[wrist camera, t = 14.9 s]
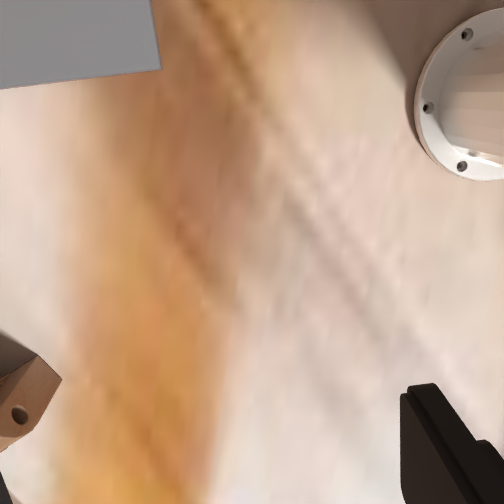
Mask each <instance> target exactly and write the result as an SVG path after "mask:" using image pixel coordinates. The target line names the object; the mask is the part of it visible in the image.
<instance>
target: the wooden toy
mask: <svg viewBox="0 0 504 504" xmlns="http://www.w3.org/2000/svg"><path fill="white" fill-rule="evenodd" d="M61 381H62V379H61V378H60V377H59V376H58V375H57V374H56V373H55V372H54V371H53V370H52V369H51V368H50V367H49V366H48V365H47V364H46V363H45V362H44V361H43V360H42V359H41V358H40V357H39V356H36V357H35V358H33V359H32V360H30V361H28V362H27V363H25V364H24V365H22V366H21V367H19V368H18V369H17V370H15V371H14V372H12V373H10V374H7V375H5V376H4V377H2V378H1V379H0V452H2V451H4V450H5V449H7V448H8V446H9V445H11V444H13V443H14V442H16V441H17V440H19V439H20V438H22V437H23V436H25V435H26V434H28V433H29V432H31V431H32V430H33V429H34V427H35V426H36V425H37V424H38V422H39V420H40V419H41V417H42V415H43V413H44V412H45V410H46V408H47V406H48V404H49V403H50V401H51V399H52V397H53V396H54V394H55V392H56V390H57V388H58V387H59V385H60V383H61Z"/></svg>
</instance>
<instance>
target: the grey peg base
mask: <svg viewBox="0 0 504 504" xmlns="http://www.w3.org/2000/svg"><path fill="white" fill-rule="evenodd" d="M155 70H163V68H162V62H161V56H160V50H159V44H158V39H157V33H156V27H155V21H154V15H153V9H152V3H151V0H0V89H8V88H16V87H24V86H32V85H41V84H49V83H57V82H65V81H73V80H81V79H90V78H98V77H106V76H114V75H122V74H130V73H138V72H147V71H155Z"/></svg>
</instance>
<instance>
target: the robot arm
mask: <svg viewBox="0 0 504 504" xmlns="http://www.w3.org/2000/svg"><path fill="white" fill-rule="evenodd" d="M462 33H464V38H463V39H462V37H461V34H462ZM424 105H426V106H427V108H426V110H425V111H423V106H424ZM414 119H415V126H416V130H417V133H418V136H419V139H420V142H421V144H422V146H423V147H424V149H425V151H426V152H427V154H428V155H429V156H430V157H431V158H432V160H433V161H434V162H435V163H436V164H437V165H439V166H440V167H442V168H443V169H444V170H446V171H447V172H449V173H451V174H454V175H456V176H459V177H462V178H465V179H469V180H472V181H486V182H487V181H495V180H502V179H504V7H502V8H497V9H493V10H489V11H486V12H483V13H480V14H477V15H475V16H473V17H471V18H469V19H468V20H466V21H464V22H462V23H461V24H459V25H458V26H457V27H455V28H454V29H453V30H452V31H451V32H449V33H448V34H447V35H446V36H445V37H444V38H443V39H442V40H441V42H440V43H439V44H438V45H437V46H436V47H435V49H434V50H433V52H432V53H431V55H430V57H429V58H428V60H427V61H426V63H425V65H424V67H423V70H422V72H421V75H420V77H419V80H418V84H417V88H416V92H415V97H414ZM458 163H459V166H458V167H457V164H458ZM400 477H401V490H402V494H403V498H404V500H405V503H406V504H504V459H503V458H502V457H501V455H500V454H499V453H498V451H497V450H496V449H495V448H494V447H493V445H492V444H491V443H490V442H488V441H486V440H478V441H476V440H475V438H474V437H473V435H472V434H471V433H470V431H469V430H468V428H467V427H466V426H465V424H464V423H463V421H462V420H461V419H460V417H459V416H458V414H457V413H456V412H455V410H454V409H453V407H452V406H451V405H450V403H449V402H448V400H447V399H446V398H445V396H444V395H443V393H442V392H441V391H440V389H439V388H438V386H437V385H436V384H434V383H429V384H421V385H413V386H409V387H408V389H407V393H403V394H401V396H400ZM0 504H13V503H12V500H11V498H10V495H9V493H8V490H7V487H6V485H5V482H4V480H3V477H2V475H1V472H0Z"/></svg>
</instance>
